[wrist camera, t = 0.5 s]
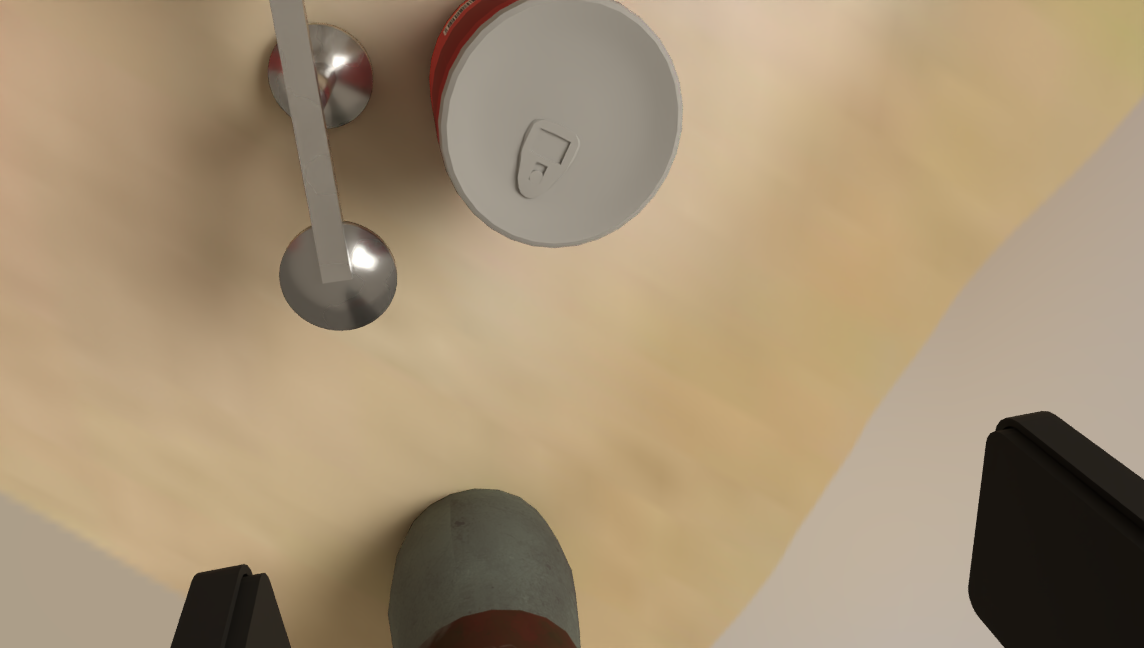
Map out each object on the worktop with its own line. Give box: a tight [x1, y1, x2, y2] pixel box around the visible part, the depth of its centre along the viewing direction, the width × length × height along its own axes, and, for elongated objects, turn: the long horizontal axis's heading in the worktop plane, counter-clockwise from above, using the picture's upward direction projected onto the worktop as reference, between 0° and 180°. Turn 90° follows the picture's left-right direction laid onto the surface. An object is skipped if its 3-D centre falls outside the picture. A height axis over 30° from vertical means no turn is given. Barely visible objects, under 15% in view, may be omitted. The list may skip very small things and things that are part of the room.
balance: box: [268, 0, 397, 331], centre depth 31 cm, size 16×4×8 cm, turn 5°
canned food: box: [429, 0, 683, 248], centre depth 32 cm, size 8×8×11 cm
